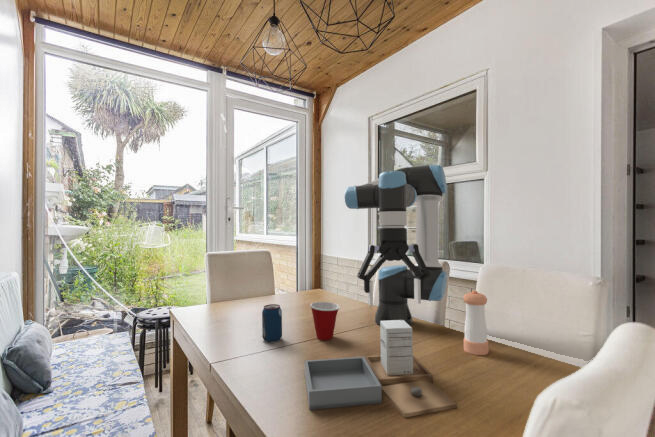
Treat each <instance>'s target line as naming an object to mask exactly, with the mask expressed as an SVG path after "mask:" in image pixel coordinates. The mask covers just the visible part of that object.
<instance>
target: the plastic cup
mask: <svg viewBox="0 0 655 437" xmlns="http://www.w3.org/2000/svg"><path fill="white" fill-rule="evenodd" d="M310 308H311V314H312V316H313V324H314V325H313V326H314V329H315V330H314V331H315V336H316V339H317V340H318V341H319V340H320V341H330V340H331V339H333V337H334V332H335V326H336V320H337V315H338V312H339V309H341V306H340V304H338V303H336V302H335V303H334V302H330V301H314V302H312V303H310Z"/></svg>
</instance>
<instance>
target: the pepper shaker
mask: <svg viewBox="0 0 655 437" xmlns="http://www.w3.org/2000/svg"><path fill="white" fill-rule="evenodd" d="M462 299H463V302H464V303H465V321H464V322H465V323H464V327H463V329H464V337H463V350H464V352H465V353H468V354H471V355H476V356H487V355H488V354H489V352H490V350H489V348H490V347H489V340H488V328H487V322H486V316H485V315H486V313H485V312H486V311H485V308H486V307H485V305H486V304H487V303H488V298H487V296H486V295H484V294H483V293H480V292H478V290H475V289H474V290H472V291H471V292H467V293H465V294H464V295H463V298H462Z"/></svg>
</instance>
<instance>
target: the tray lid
mask: <svg viewBox="0 0 655 437" xmlns="http://www.w3.org/2000/svg"><path fill="white" fill-rule="evenodd" d="M382 394H383V395H384V396H385V397H386V398H387V399H388V400H389V402H390V403H391V404H392V405H393V407H395V409H396V410H397V411H398V412H399V413H400V414H401V416H403V418H404V419H405V418H409V417H410V418H411V417H414V416H420V415H425V414H429V413H430V414H431V413H435V412H442V411H446V410H451V409H455V408H457V407H458V403H456V402H455V401H454V400H453V399H451V398H450V396H448V395H446V394H445V393H444V392H443V391H442V390H440V389H439V388H438V387H437V386H435V384H434V383H433V382H429V381H428V380H419V381H413V382H407V383H401V384H394V385H388V386H382Z"/></svg>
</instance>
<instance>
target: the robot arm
mask: <svg viewBox="0 0 655 437" xmlns="http://www.w3.org/2000/svg"><path fill="white" fill-rule="evenodd" d="M447 188H448V186H447V179H446V175H445V169H444V168H443V166H442V165H440V164H429V165H428V164H427V165H419V166H418V165H417V166H409V167H408V166H407V167H401V168H397V169H395V170H390V171H383V172H380V174H379V175H378V179H376V180H372V181H370V182H368V183H365V184H362V185H353V186H348V187H347V188H346V189H345V192H344V203H345V206H346V207H347V208H348V209H350V210H351V209H352V210H361V209H362V210H364V209H366V210H367V209H378V212H379V214H378V215H379V216H378V218H379V219H378V220H379V223H378V224H379V226H380V227H381V228H379V230H378V232H379V245H374V244H369V245H368V248H367V253H366V256H365V257H364V260H363V262H362V264H361V266H360V269H358V272H357V275H356V276H357V278H358V279H359V280H362V281H363V291H364V293H366V294H367V304H368V306H371V307H372V306H374V296H373V295H374V291H373V290H374V288H373V287H374V286H373V285H374V284H373V281H372V280H371V279H372V278H373V277H374V275H375V274H376V273H377V272H378V279H377V280H378V305H377V309H376V312H375V315H374V322H375V324H377V326H378V325H379V326H380V321H387V320H404V321H405V322H406V323H407V324H408V325H410V326H412V325H413V317H412V313H411V309H410V307H409V303H408V302H409V301H408V299H409V300H410V299H411V300H414V302H415V303H417V304H419V305H420V304H421V303H422V302H421V301H428V302H440V301H441V300H442V299H443V298H444V297H445V293H446V288H447V282H448V278H447V277H448V274H447V271H445V270H443V269H444V268H443V265H442V264H441V263H440V262H439V240H440V239H439V228H440V227H439V224H440V223H439V217H440V216H439V213H440V212H439V211H440V209H439V207H440V206H439V204H440V203H439V202H440V201H442V200H443V194H447V192H448V189H447ZM415 202H416V213H415V214H416V217H415V219H416V220H415V222H416V227H415V228H416V229H415V230H416V231H415V232H416V233H415V234H416V235H415V240H416V241H415V243H412V244H408V232H407V231H408V230H407V228H406V227H405V226H407V223H408V220H407V208H409V207H412V206H413V205H415ZM377 251H378V252H379V253H380V254H379V256H377V259H376V260H375V262H374V263H373V264H372V266H371V267H370V268H369V266H370V264H371V262H372V261H373V258H374V255H375V254H376V253H377ZM408 252H411V253H412V254H411V255H412V256H413V259H414V260H415V262H414V263H413V262H412V261H411V259H410V257H409V256H408V255H407V253H408ZM387 261H388V262H393V261H397V262H400V261H402V262H404V265H402V264H401V265H400V264H398V265H390V266H384V267H381V266H382V265H383V264H384V263H386V262H387ZM368 268H369V270H368ZM367 270H368V271H367Z"/></svg>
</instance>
